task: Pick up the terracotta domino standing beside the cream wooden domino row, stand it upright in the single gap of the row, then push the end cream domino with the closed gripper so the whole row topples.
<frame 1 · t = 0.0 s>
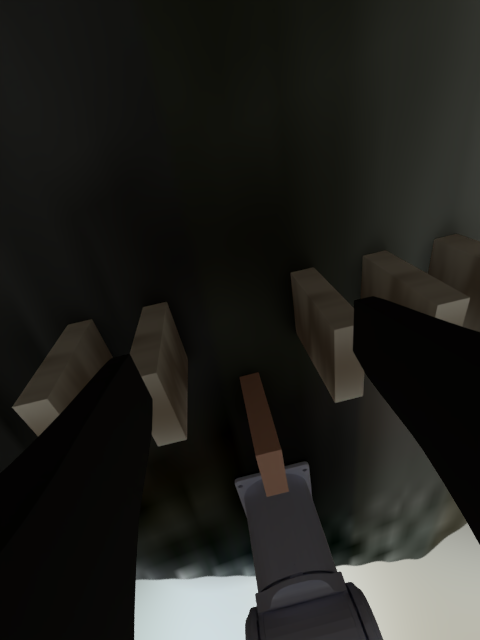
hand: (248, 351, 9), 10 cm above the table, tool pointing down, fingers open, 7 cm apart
domino 1: (96, 351, 20), on the table
domino 6: (438, 270, 21), on the table
domino 4: (304, 302, 21), on the table
domino 2: (166, 334, 20), on the table
terracotta domino: (253, 395, 25), on the table
domino 5: (371, 286, 21), on the table
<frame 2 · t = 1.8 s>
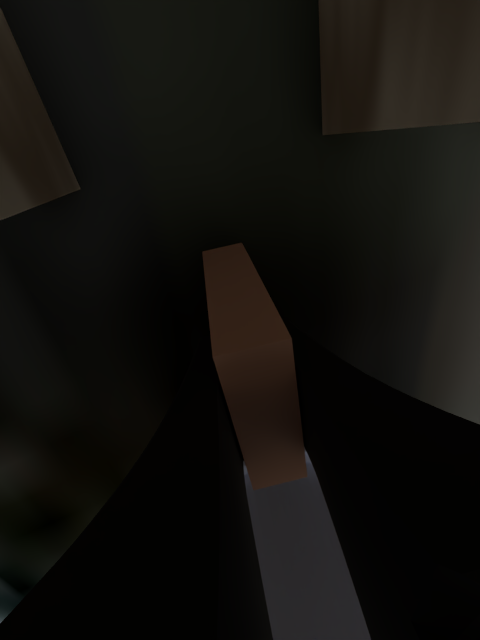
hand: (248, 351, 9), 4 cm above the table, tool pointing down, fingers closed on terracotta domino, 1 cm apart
domino 4: (345, 31, 9), on the table
domino 2: (12, 103, 8), on the table
terracotta domino: (233, 299, 13), on the table, touching gripper
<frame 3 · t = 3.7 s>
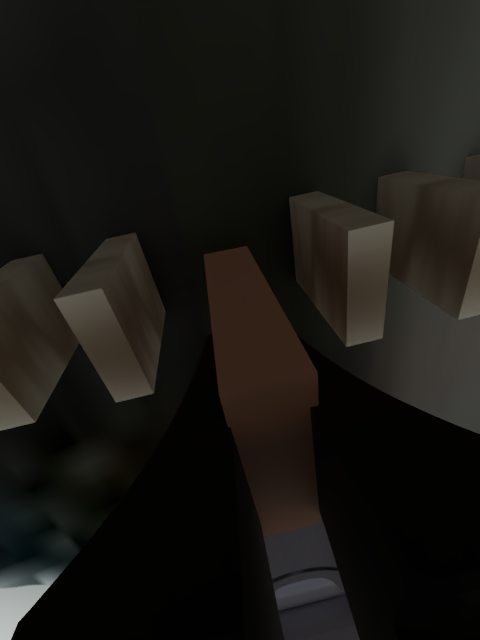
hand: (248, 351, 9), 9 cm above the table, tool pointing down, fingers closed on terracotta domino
domino 1: (52, 298, 17), on the table
domino 6: (469, 201, 17), on the table
domino 4: (306, 239, 17), on the table
domino 2: (138, 278, 17), on the table
terracotta domino: (236, 309, 12), point 6 cm above the table, touching gripper
domino 5: (388, 220, 17), on the table
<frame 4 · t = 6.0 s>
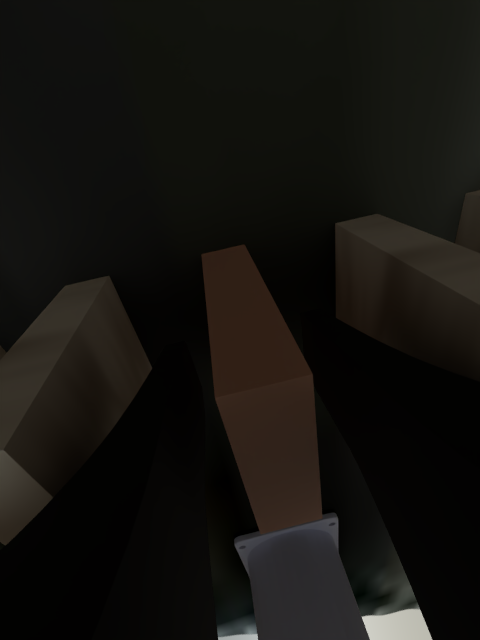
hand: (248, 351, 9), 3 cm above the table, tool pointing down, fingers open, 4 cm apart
domino 4: (354, 279, 12), on the table
domino 2: (115, 336, 12), on the table
terracotta domino: (236, 307, 12), on the table
domino 5: (470, 252, 12), on the table
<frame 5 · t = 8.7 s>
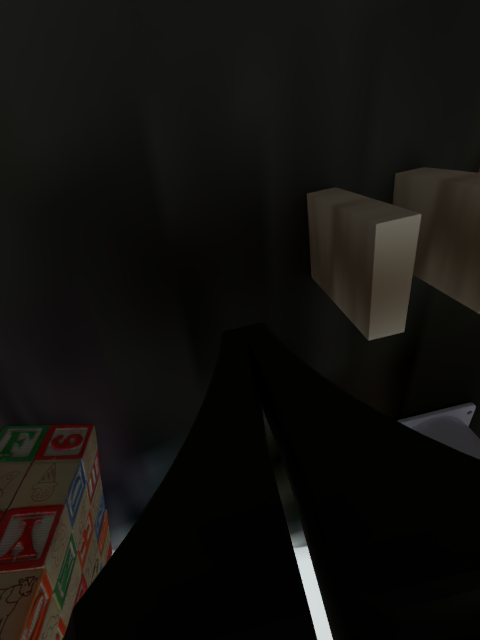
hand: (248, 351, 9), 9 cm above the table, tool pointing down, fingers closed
domino 1: (322, 235, 17), on the table
stack of blocks: (71, 498, 27), on the table
domino 2: (404, 216, 17), on the table
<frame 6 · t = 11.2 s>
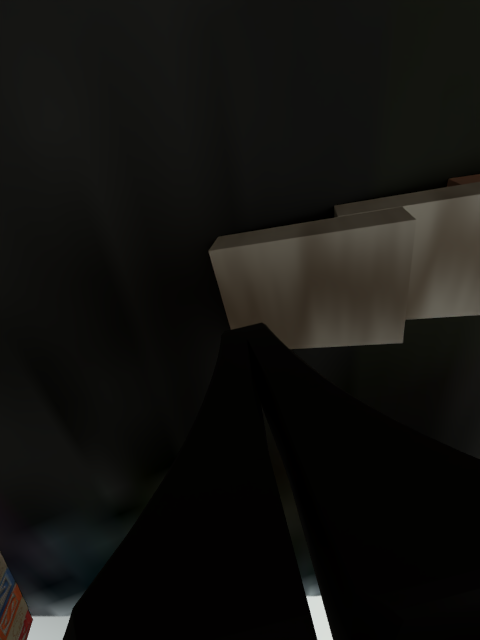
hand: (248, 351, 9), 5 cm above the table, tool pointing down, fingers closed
domino 1: (228, 297, 13), point 1 cm above the table, tilted 72°, touching domino 2
domino 2: (337, 267, 13), point 1 cm above the table, tilted 71°, touching domino 1, terracotta domino
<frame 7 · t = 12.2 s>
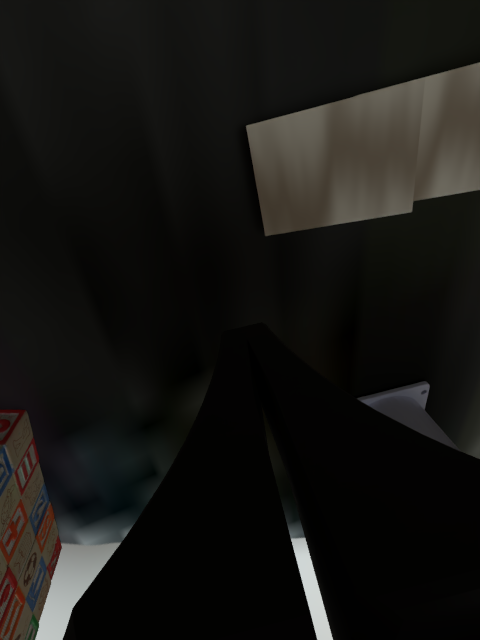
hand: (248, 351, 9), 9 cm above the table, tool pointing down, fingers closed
domino 1: (258, 182, 15), point 1 cm above the table, tilted 72°, touching domino 2
stack of blocks: (11, 489, 26), on the table
domino 2: (355, 156, 15), point 1 cm above the table, tilted 71°, touching domino 1, terracotta domino
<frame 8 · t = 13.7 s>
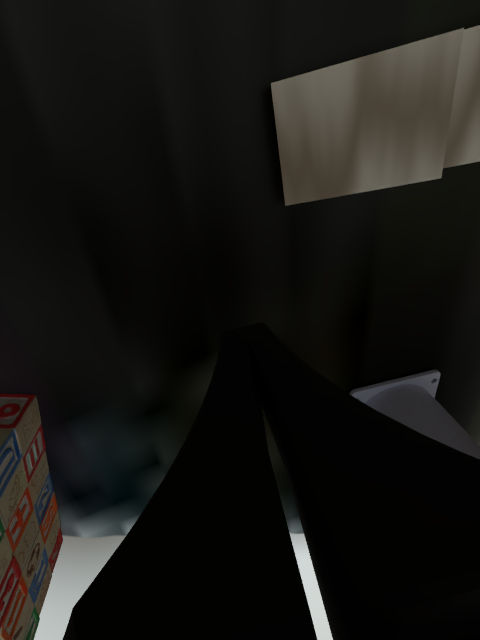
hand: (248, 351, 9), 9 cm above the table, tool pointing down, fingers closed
domino 1: (279, 148, 14), point 1 cm above the table, tilted 72°, touching domino 2
stack of blocks: (15, 478, 25), on the table
domino 2: (383, 120, 14), point 1 cm above the table, tilted 72°, touching domino 1, terracotta domino
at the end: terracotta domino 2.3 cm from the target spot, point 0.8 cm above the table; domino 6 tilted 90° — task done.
